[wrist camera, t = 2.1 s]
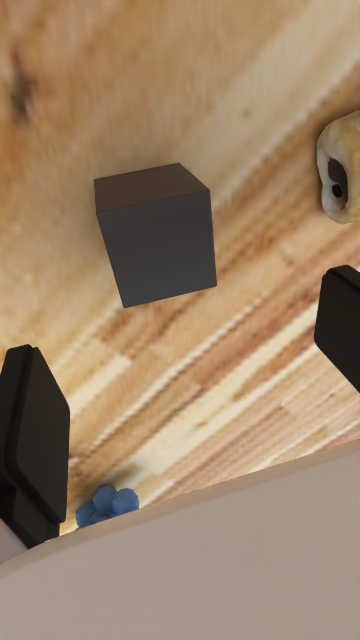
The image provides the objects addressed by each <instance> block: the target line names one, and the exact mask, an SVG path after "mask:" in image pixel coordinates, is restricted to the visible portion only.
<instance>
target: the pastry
mask: <svg viewBox="0 0 360 640" xmlns="http://www.w3.org/2000/svg"><path fill="white" fill-rule="evenodd" d="M317 166H318V169H319V175H320V178H321V181H322V183H323V188H322V207H323V210H324V211H325V213H326V214H327V215H328V217H329V218H330V219H332V220H334V221H335V222H337V223H340V224H346V223H354V222H356V221H358V220H359V219H360V110H356V111H354V112H352V113H350V114H348V115H345V116H343V117H341V118H338V119H336V120H334V121H333V122H331V123H330V124H328V125H327V126H326V127H325V129H324V130H323V131H322V133H321V134H320V136H319V137H318V140H317Z"/></svg>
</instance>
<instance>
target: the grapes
mask: <svg viewBox="0 0 360 640" xmlns="http://www.w3.org/2000/svg"><path fill="white" fill-rule="evenodd" d="M137 509H139V500H138V497H137V495H136V493H135V492H134V491H133V490H131V489H128V488H125V489H121V490H119V491H118V492H117V490H116V489H115V488H114V487H112V486H110V485H106V486H102V487H101V488H100V489H98V490H97V492H96V493H95V495H94V498H93V501H88V502H85V503H83V504H82V505H81V506H80V507H79V508H78V510H77V512H76V521H77V525H78V526H79V528H77V529H76V530H79V529H81V528H84V527H87V526H90V525H93V524H96V523H99V522H102V521H105V520H108V519H111V518H114V517H117V516H120V515H123V514H126V513H128V512H131V511H134V510H137ZM76 530H75V531H76Z"/></svg>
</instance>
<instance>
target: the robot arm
mask: <svg viewBox="0 0 360 640" xmlns="http://www.w3.org/2000/svg"><path fill="white" fill-rule="evenodd" d="M314 340H315V343H316V345H317V347H318V348H319V349H320V350H321V351H322V352H323V353H324V354H325V355H326V356H327V358H328V359H329V360H330V361H331V362H332V363H333V364H334V365H335V366H336V368H337V369H338V370H339V371H340V372H341V373H342V374H343V375H344V376H345V377H346V379H347V380H348V381H349V382H350V383H351V384H352V385H353V386H354V387H355V388H356V390H357V391H358V392H359V393H360V272H358V271H357V270H355V269H354V268H352V267H351V266H349V265H342V266H338V267H334V268H330V269H329V270H328V271H327V272H326V274H325V275H324V276H323V278H322V283H321V290H320V297H319V304H318V311H317V318H316V325H315V332H314ZM69 431H70V409H69V406H68V403H67V401H66V399H65V397H64V395H63V394H62V392H61V390H60V388H59V386H58V384H57V382H56V380H55V378H54V376H53V375H52V373H51V371H50V369H49V367H48V365H47V363H46V361H45V359H44V357H43V355H42V354H41V352H40V350H39V348H38V347H34V348H32V347H31V346H30V345H29V344H26V345H22V346H18V347H14V348H10V349H8V351H7V353H6V357H5V360H4V364H3V367H2V371H1V374H0V640H360V439H358V440H354V441H351V442H348V443H345V444H342V445H338V446H335V447H332V448H329V449H326V450H322V451H319V452H316V453H313V454H310V455H307V456H303V457H300V458H297V459H294V460H291V461H288V462H284V463H281V464H278V465H275V466H272V467H269V468H265V469H262V470H259V471H256V472H253V473H250V474H246V475H243V476H240V477H237V478H234V479H231V480H228V481H224V482H221V483H218V484H215V485H212V486H209V487H206V488H203V489H200V490H196V491H193V492H190V493H187V494H184V495H181V496H178V497H175V498H172V499H168V500H165V501H162V502H159V503H156V504H153V505H150V506H147V507H144V508H141V509H137V510H134V511H131V512H128V513H126V514H123V515H120V516H117V517H114V518H111V519H108V520H105V521H102V522H99V523H96V524H93V525H90V526H87V527H84V528H81V529H79V530H76V531H73V532H70V533H68V534H65V535H62V536H60V537H59V528H60V523H62V522H64V521H65V519H66V507H67V482H68V457H69ZM56 537H57V538H56ZM53 538H55V539H53ZM50 539H52V540H50ZM47 540H50V541H47ZM45 541H47V542H45Z"/></svg>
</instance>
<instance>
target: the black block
mask: <svg viewBox="0 0 360 640" xmlns="http://www.w3.org/2000/svg"><path fill="white" fill-rule="evenodd" d="M94 188H95V202H96V214H97V218H98V221H99V225H100V228H101V232H102V235H103V238H104V242H105V245H106V249H107V252H108V256H109V259H110V263H111V266H112V269H113V273H114V276H115V280H116V283H117V287H118V290H119V294H120V297H121V301H122V304H123V307H124V308H128V307H132V306H136V305H141V304H145V303H149V302H153V301H157V300H161V299H166V298H170V297H174V296H178V295H182V294H186V293H191V292H195V291H199V290H203V289H207V288H212V287H216V286H217V279H216V266H215V253H214V239H213V226H212V213H211V199H210V190H209V189H208V188H207V187H206V186H205V185H204V184H203V183H202V182H200V181H199V180H198V179H197V178H196V177H195V176H194V175H192V174H191V173H190V172H189V171H188V170H187V169H185V168H184V167H183V166H182V165H181V164H180V163H176V164H171V165H166V166H161V167H156V168H150V169H145V170H140V171H135V172H130V173H125V174H120V175H115V176H110V177H105V178H100V179H95V180H94Z"/></svg>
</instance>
